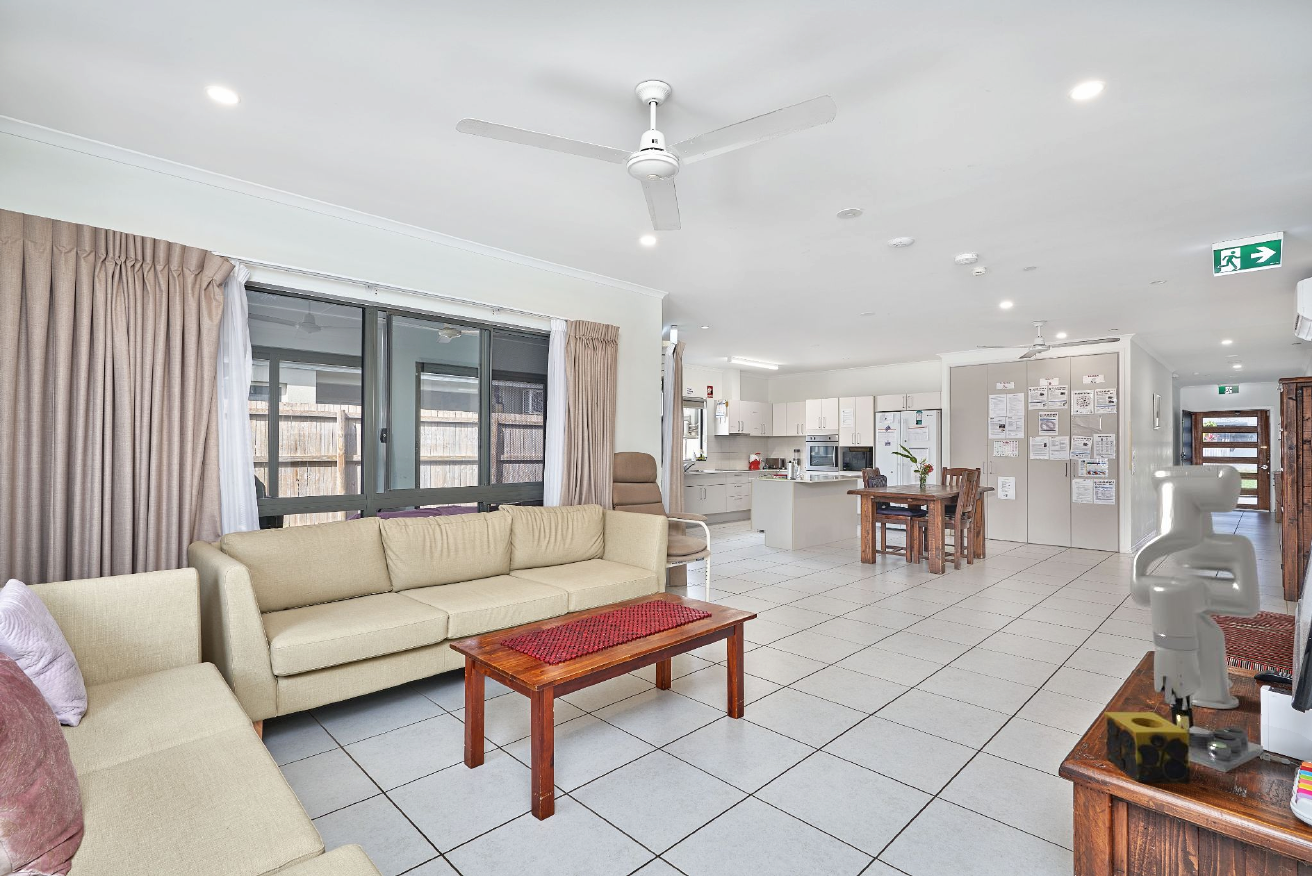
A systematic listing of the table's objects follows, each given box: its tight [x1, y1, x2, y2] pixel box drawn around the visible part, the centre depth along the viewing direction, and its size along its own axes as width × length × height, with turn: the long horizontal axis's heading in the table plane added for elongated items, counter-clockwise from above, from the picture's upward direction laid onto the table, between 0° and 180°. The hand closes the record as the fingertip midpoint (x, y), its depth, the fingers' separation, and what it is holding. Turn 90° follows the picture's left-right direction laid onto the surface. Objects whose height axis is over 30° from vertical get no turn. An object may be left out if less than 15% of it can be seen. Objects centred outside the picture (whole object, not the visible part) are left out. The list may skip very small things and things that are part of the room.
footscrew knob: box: [1176, 714, 1241, 752], centre depth 133 cm, size 10×5×6 cm, turn 71°
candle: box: [1104, 711, 1192, 784], centre depth 127 cm, size 10×10×10 cm
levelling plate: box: [1188, 725, 1264, 774], centre depth 135 cm, size 16×14×4 cm
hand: (1183, 725), depth 137 cm, fingers closed
